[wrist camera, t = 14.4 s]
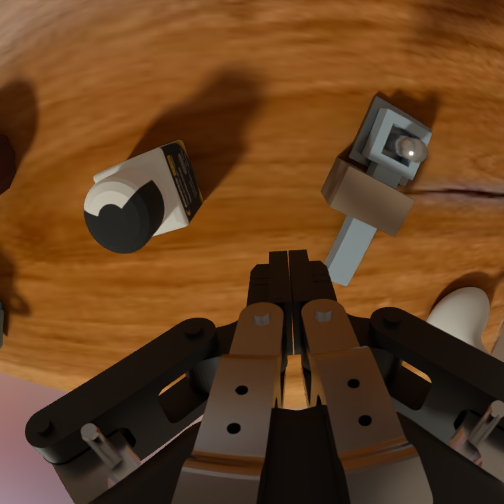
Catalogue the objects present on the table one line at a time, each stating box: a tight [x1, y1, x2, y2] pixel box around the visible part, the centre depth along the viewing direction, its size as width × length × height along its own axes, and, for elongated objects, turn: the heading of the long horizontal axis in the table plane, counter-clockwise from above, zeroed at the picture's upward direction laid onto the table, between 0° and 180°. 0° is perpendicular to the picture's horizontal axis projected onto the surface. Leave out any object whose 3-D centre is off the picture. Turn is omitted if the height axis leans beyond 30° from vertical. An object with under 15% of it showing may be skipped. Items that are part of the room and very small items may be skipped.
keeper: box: [321, 157, 415, 237], centre depth 29 cm, size 4×7×5 cm, turn 69°
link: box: [324, 108, 432, 286], centre depth 29 cm, size 18×5×2 cm, turn 161°
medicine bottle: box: [84, 140, 204, 254], centre depth 26 cm, size 7×7×12 cm
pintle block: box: [347, 96, 431, 187], centre depth 25 cm, size 7×7×7 cm
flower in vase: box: [426, 287, 490, 355], centre depth 26 cm, size 13×11×25 cm
